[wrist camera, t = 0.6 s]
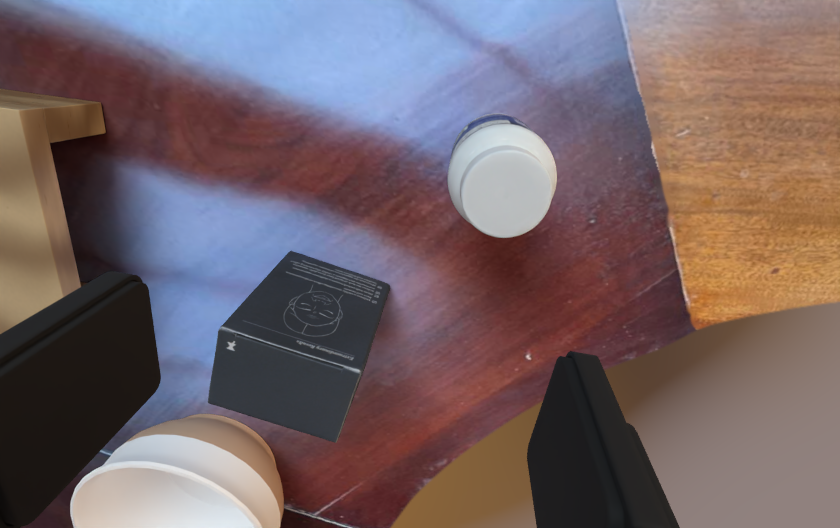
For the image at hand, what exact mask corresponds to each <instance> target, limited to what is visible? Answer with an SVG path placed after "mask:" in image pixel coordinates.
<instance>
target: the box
mask: <svg viewBox="0 0 840 528" xmlns="http://www.w3.org/2000/svg"><path fill="white" fill-rule="evenodd" d="M389 291H390V285H389V284H387V283H385V282H382V281H379V280H376V279H373V278H370V277H367V276H364V275H361V274H358V273H355V272H352V271H349V270H346V269H343V268H340V267H337V266H334V265H332V264H328V263H325V262H322V261H319V260H316V259H314V258H310V257H307V256H305V255H302V254H299V253H296V252H293V251H290V252H289V253H288V254H287V255H286V256H285V257H284V258H283V259H282V260H281V261H280V263H279V264H278V265H277V266H276V267H275V268H274V269H273V270H272V271H271V272H270V274H269V275H268V276H267V277H266V278H265V279H264V280H263V281H262V282H261V283H260V284H259V286H258V287H257V288H256V289H255V290H254V291H253V292H252V293H251V294H250V295H249V297H248V298H247V299H246V300H245V301H244V302H243V303H242V304H241V306H239V307H238V309H237V310H236V311H235V312H234V313H233V314H232V315H231V316H230V317H229V318H228V320H227V321H226V322H225V323H224V324H223V325H222V326H221V327H220V329H219V331H218V338H217V345H216V352H215V358H214V364H213V371H212V377H211V383H210V390H209V397H208V403H210V404H213V405H216V406H220V407H223V408H226V409H229V410H233V411H236V412H239V413H242V414H246V415H249V416H252V417H255V418H258V419H261V420H265V421H268V422H271V423H274V424H278V425H281V426H284V427H287V428H290V429H294V430H297V431H300V432H303V433H307V434H310V435H313V436H316V437H319V438H323V439H326V440H329V441H332V442H335V443H336V442H337V440H338V438H339V436H340V433H341V430H342V428H343V425H344V422H345V420H346V417H347V414H348V412H349V409H350V406H351V403H352V401H353V398H354V395H355V393H356V390H357V387H358V384H359V382H360V379H361V376H362V374H363V371H364V368H365V365H366V362H367V359H368V356H369V353H370V350H371V346H372V343H373V340H374V337H375V333H376V331H377V328H378V325H379V321H380V318H381V315H382V312H383V309H384V305H385V302H386V300H387V296H388V293H389Z"/></svg>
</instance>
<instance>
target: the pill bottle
mask: <svg viewBox="0 0 840 528" xmlns="http://www.w3.org/2000/svg"><path fill="white" fill-rule="evenodd" d="M556 182H557V172H556V165H555V161H554V158H553V156H552V153H551V152H550V150H549V148H548V147H547V145H546V144H545V142H544V141H543V140H542V139H541V138H540V137H539V136H538V135H536V134H535V133H534V132H533V131H532V130H531V129H530V128H528V127H527V126H526V125H525V124H524V123H523V122H521V121H520V120H518V119H516V118H514V117H512V116H509V115H506V114H488V115H484V116H481V117H479V118H476V119H475V120H473V121H471V122H470V123H469V124H468V125H467V126H465V127H464V129H463V130H462V131H461V132H460V133H459V135H458V137H457V139H456V141H455V143H454V146H453V150H452V154H451V159H450V165H449V169H448V179H447V183H448V189H449V193H450V197H451V200H452V202H453V204H454V206H455V208H456V209H457V211H458V212H459V214H460V215H461V216H462V217H463V218H464V219H465V220H467V221H468V222H469V223H471V224H472V225H473V226H474V227H475V228H477V229H478V230H479V231H481V232H483V233H485V234H487V235H490V236H493V237H498V238H510V237H515V236H519V235H522V234H524V233H526V232H528V231H530V230H531V229H533V228H534V227H535V226H536V225H538V224H539V222H540V221H541V220H542V219H543V218H544V216H545V215H546V213H547V211H548V209H549V207H550V203H551V200H552V197H553V195H554V192H555V188H556Z"/></svg>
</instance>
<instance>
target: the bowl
mask: <svg viewBox="0 0 840 528" xmlns="http://www.w3.org/2000/svg"><path fill="white" fill-rule="evenodd" d="M283 511H284V497H283V489H282V483H281V479H280V476H279V473H278V471H277V469H276V462H275V458H274V455H273V453H272V451H271V449H270V447H269V446H268V445H267V443H266V442H265V441H264V440H263V439H262V438H261V437H260V436H259V435H258V434H257V433H256V432H255V431H253V430H252V429H250V428H249V427H247V426H246V425H244V424H242V423H240V422H238V421H236V420H233V419H230V418H227V417H224V416H219V415H214V414H197V415H191V416H188V417H185V418H182V419H177V420H171V421H166V422H163V423H161V424H158V425H155V426H153V427H150V428H148V429H145V430H143V431H140V432H139V433H137V434H136V435H135V436H133V437H132V438H130V439H129V440H128V441H127V442H125V443H124V444H123V445H122V446H120V447H119V448H117V449H116V450H115V451H114V453H113V454H112V455H111V456H110V458H109V459H108V460H107V461H106V463H105V464H104V465H103V466H101V467H99V468H97V469H95V470H93V471H92V472H90V473H89V474H88V475H86V476H85V477H83V479H82V480H81V481H80V482H79V484H78V485H77V486H76V487H75V490H74V493H73V496H72V499H71V502H70V515H71V519H72V522H73V526H74V528H280V523H281V519H282V515H283Z"/></svg>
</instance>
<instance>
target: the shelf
mask: <svg viewBox="0 0 840 528" xmlns="http://www.w3.org/2000/svg"><path fill="white" fill-rule="evenodd" d="M104 133H106V130H105V124H104V118H103V112H102V106H101V103H100V102H93V101H86V100H79V99H71V98H64V97H57V96H50V95H42V94H35V93H28V92H21V91H13V90H6V89H0V334H2V333H3V332H5V331H7V330H8V329H10V328H12V327H13V326H15V325H17V324H19V323H20V322H22V321H24V320H25V319H27V318H29V317H31V316H32V315H34V314H36V313H37V312H39V311H41V310H42V309H44V308H46V307H48V306H49V305H51V304H53V303H54V302H56V301H58V300H60V299H61V298H63V297H65V296H66V295H68V294H70V293H72V292H73V291H75V290H77V289H78V288H80V287H82V286H83V285H85V284H87V283H84V282H80V280H79V275H78V270H77V266H76V261H75V257H74V252H73V248H72V243H71V238H70V234H69V229H68V225H67V220H66V216H65V211H64V206H63V202H62V197H61V193H60V188H59V184H58V179H57V174H56V170H55V165H54V161H53V156H52V152H51V147H50V143H54V142H60V141H65V140H71V139H76V138H82V137H88V136H93V135H99V134H104Z"/></svg>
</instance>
